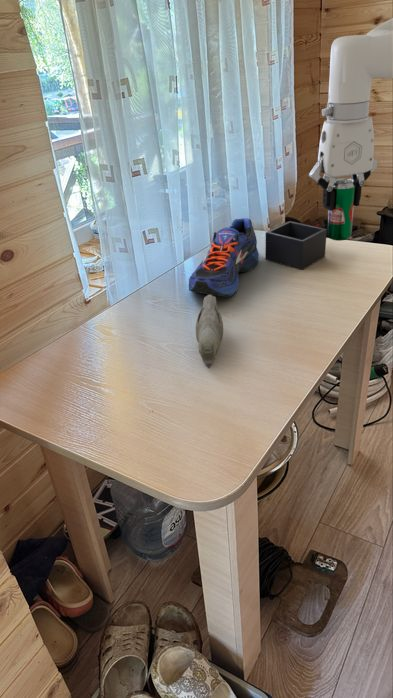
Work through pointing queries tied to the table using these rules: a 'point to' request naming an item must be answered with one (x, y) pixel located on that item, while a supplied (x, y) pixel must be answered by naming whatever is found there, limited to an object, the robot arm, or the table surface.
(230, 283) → the running shoe
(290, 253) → the dark grey open box
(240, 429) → the table surface
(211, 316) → the decorative bird
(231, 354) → the table surface
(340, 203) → the soda can
